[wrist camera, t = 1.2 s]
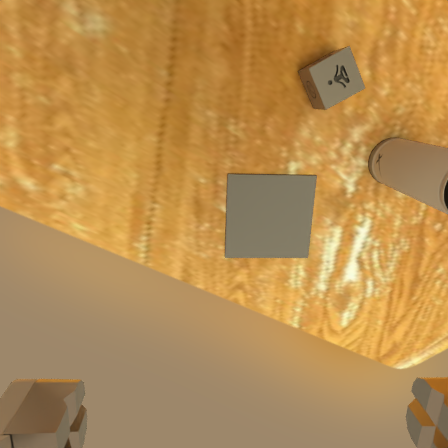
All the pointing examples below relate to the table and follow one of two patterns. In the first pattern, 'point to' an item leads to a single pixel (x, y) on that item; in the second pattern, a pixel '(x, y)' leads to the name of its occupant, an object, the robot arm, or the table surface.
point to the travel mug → (413, 170)
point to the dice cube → (332, 79)
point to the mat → (269, 215)
